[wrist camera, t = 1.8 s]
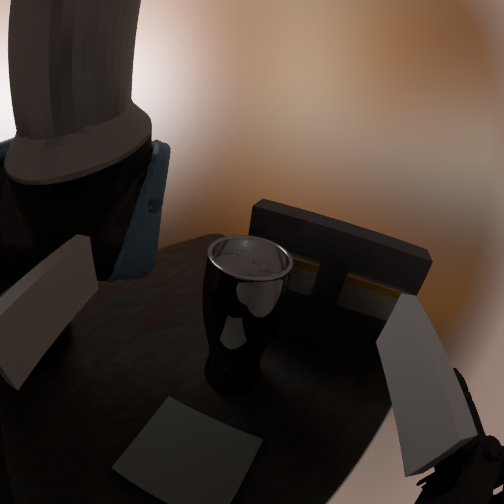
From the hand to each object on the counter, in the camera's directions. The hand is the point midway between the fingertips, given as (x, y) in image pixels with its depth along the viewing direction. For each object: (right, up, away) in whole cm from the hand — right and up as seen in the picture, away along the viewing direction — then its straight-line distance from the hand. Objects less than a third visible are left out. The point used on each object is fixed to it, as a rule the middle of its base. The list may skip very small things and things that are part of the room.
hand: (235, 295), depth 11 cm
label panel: (+8, -10, +23) cm, 27 cm away
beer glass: (-2, -12, +18) cm, 21 cm away
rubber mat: (-5, -16, +8) cm, 19 cm away
